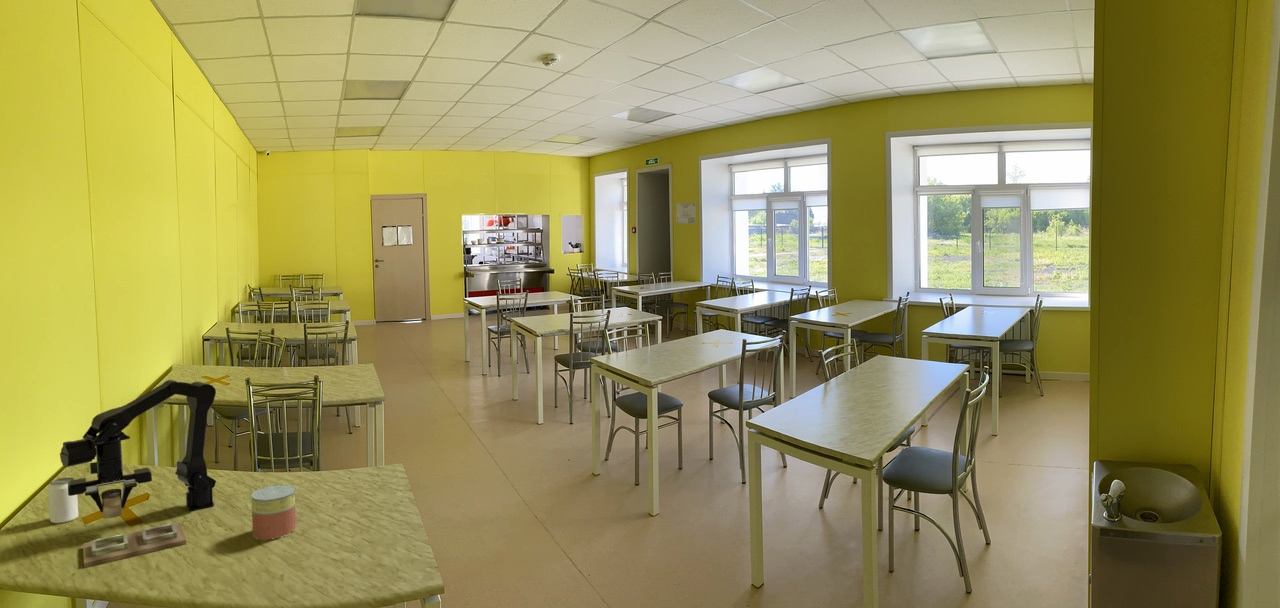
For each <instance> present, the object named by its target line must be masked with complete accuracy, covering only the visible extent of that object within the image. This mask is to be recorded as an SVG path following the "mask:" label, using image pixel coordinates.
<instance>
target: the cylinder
mask: <svg viewBox="0 0 1280 608" xmlns="http://www.w3.org/2000/svg"><path fill="white" fill-rule="evenodd" d="M100 496H101V502H102V507H103V512H102V518H103V519H113V518H114V519H115V518H118V517H120V516H121V515H123V508H122V489H121V488H112V489H111V488H110V489H107V490H103V491H102V492H101V493H100Z"/></svg>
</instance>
